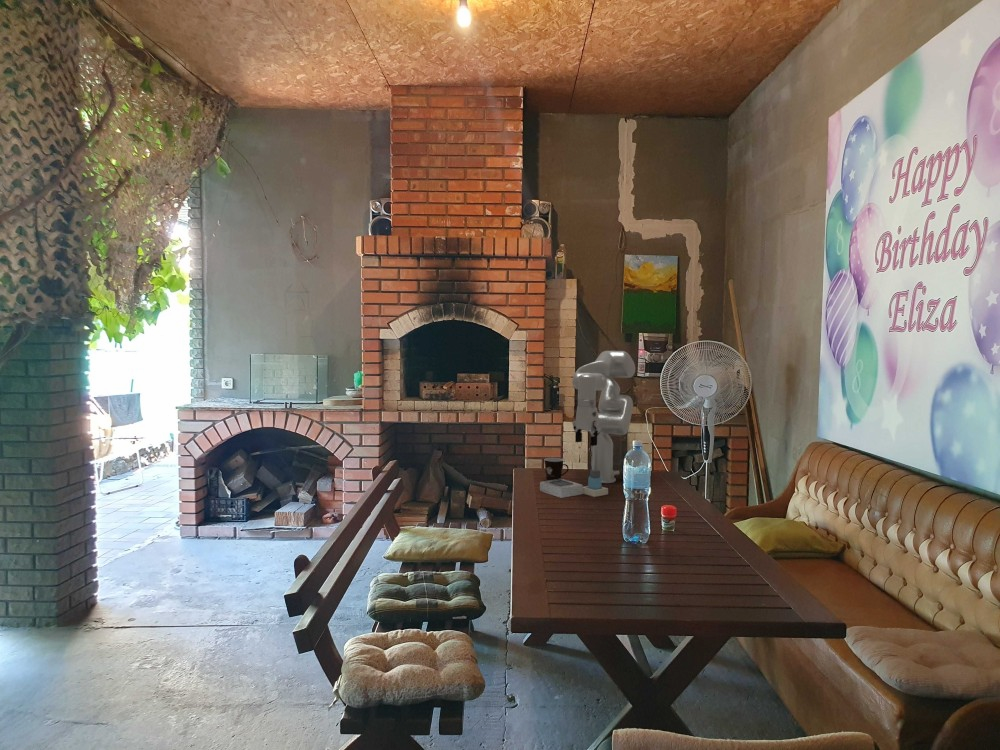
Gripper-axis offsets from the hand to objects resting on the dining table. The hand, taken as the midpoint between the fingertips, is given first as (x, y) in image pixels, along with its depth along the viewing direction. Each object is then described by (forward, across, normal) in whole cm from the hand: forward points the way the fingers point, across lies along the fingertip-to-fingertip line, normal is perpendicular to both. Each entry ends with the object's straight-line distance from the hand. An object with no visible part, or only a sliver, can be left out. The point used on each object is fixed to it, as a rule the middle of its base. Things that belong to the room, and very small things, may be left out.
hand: (586, 443), depth 271 cm
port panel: (+21, +6, +8) cm, 24 cm away
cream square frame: (+21, -2, -3) cm, 22 cm away
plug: (+22, -2, -3) cm, 22 cm away
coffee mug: (+22, +24, -2) cm, 32 cm away
